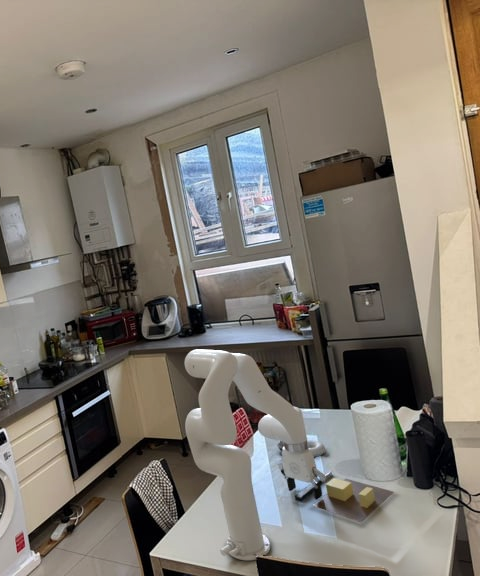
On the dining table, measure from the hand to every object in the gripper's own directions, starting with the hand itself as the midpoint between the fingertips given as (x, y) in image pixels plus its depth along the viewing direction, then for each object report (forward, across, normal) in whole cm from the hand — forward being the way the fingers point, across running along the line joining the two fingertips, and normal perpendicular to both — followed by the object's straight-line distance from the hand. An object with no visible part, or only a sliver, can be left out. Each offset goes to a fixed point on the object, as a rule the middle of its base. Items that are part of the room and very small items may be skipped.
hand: (305, 493), depth 169 cm
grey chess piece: (+2, -24, +24) cm, 34 cm away
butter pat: (+1, +18, +6) cm, 19 cm away
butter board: (+2, +13, +6) cm, 14 cm away
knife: (+2, 0, +5) cm, 6 cm away
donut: (+2, -16, +29) cm, 33 cm away
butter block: (+1, +9, +6) cm, 11 cm away
